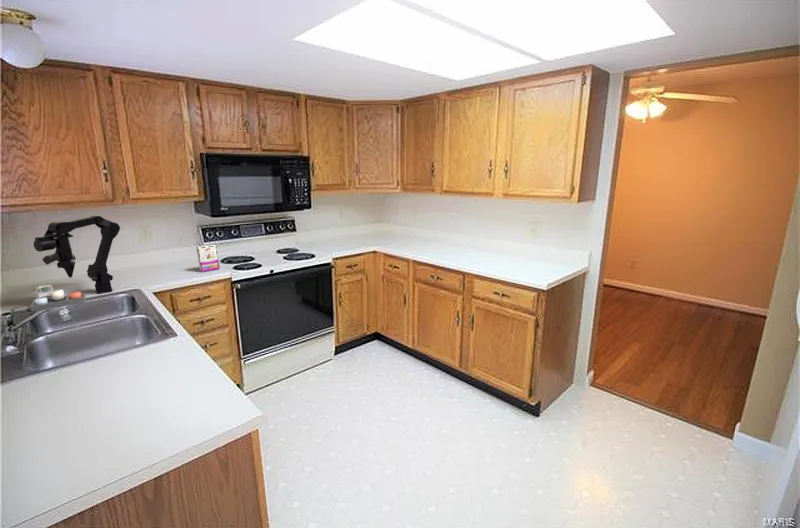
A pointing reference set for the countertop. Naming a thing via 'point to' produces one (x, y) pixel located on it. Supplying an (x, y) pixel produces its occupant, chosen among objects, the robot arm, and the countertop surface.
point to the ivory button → (57, 295)
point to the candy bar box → (208, 258)
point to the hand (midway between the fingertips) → (70, 277)
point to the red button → (75, 295)
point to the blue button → (41, 300)
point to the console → (58, 303)
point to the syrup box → (43, 291)
